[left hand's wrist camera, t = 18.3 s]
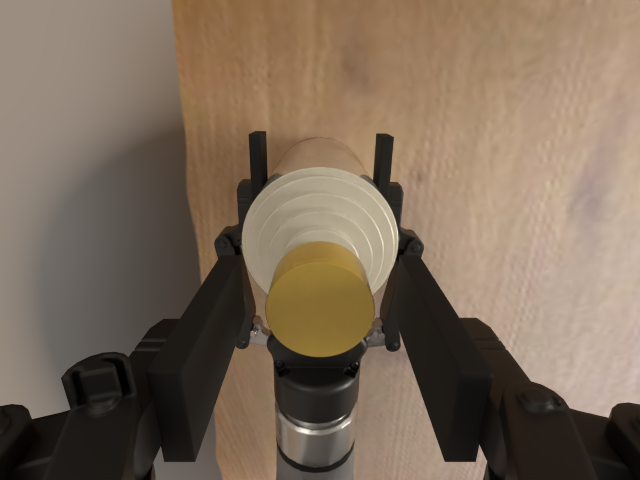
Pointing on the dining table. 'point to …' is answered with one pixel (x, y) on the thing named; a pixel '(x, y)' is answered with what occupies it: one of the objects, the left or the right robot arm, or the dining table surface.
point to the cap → (320, 300)
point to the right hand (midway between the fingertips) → (321, 134)
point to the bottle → (320, 212)
